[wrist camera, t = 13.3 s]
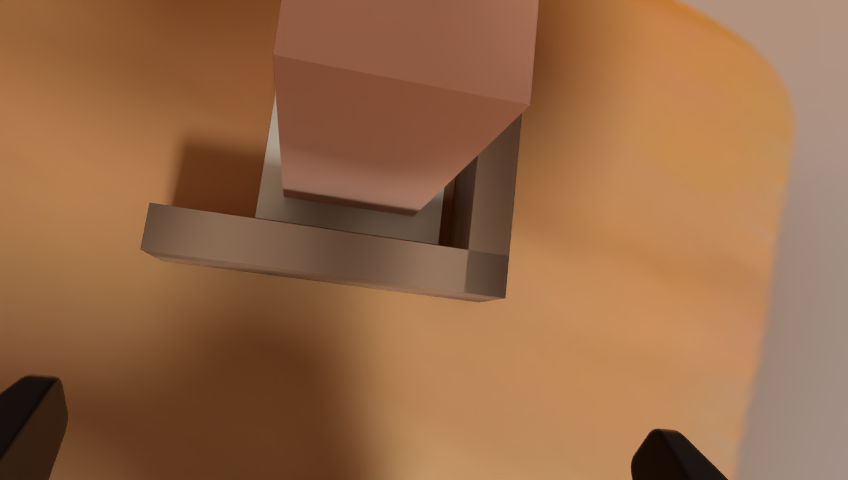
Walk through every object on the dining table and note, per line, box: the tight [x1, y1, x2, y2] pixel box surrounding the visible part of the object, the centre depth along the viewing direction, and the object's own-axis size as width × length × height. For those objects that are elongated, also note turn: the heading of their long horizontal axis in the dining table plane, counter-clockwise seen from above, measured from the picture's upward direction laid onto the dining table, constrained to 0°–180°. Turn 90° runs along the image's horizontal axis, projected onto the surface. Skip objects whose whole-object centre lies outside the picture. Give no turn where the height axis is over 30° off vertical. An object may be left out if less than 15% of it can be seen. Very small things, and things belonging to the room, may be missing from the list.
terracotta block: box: [273, 0, 539, 217], centre depth 18 cm, size 5×5×12 cm
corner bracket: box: [141, 94, 522, 302], centre depth 22 cm, size 12×12×3 cm
